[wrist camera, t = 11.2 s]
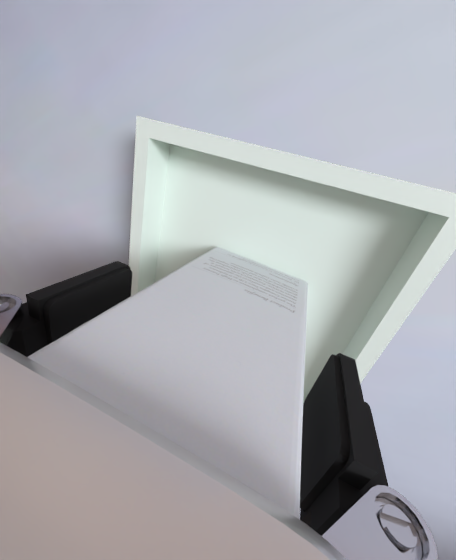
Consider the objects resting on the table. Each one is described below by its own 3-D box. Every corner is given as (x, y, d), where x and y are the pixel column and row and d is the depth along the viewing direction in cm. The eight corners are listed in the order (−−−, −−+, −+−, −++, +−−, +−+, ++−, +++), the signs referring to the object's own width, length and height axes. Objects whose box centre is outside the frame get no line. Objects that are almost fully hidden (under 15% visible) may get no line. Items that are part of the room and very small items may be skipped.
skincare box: (202, 300, 16) (-12, 507, 6) (217, 240, 14) (-66, 389, 4) (286, 337, 15) (210, 689, 5) (316, 277, 13) (303, 654, 3)
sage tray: (453, 198, 10) (488, 201, 8) (318, 409, 17) (318, 442, 15) (165, 127, 14) (136, 115, 11) (145, 327, 20) (124, 345, 18)
